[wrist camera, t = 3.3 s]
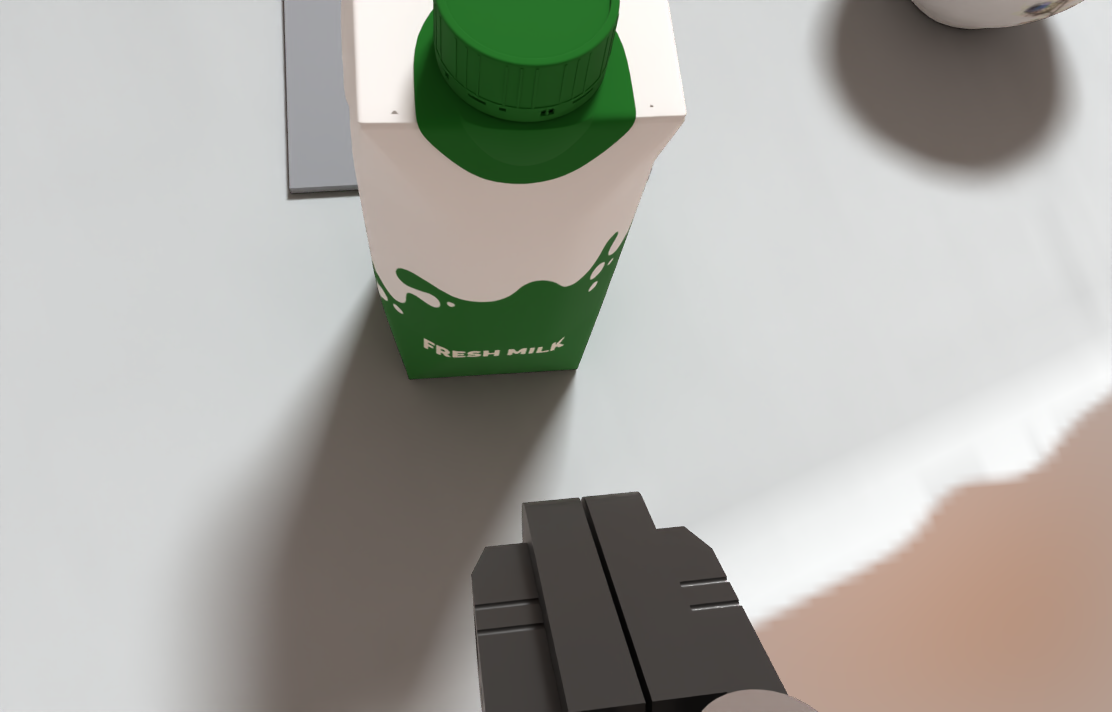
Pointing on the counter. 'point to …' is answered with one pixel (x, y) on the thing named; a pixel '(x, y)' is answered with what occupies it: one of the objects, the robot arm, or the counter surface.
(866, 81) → the counter surface
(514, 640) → the robot arm
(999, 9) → the teacup
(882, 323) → the counter surface
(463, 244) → the milk carton
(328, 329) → the counter surface
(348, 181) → the slate mat
